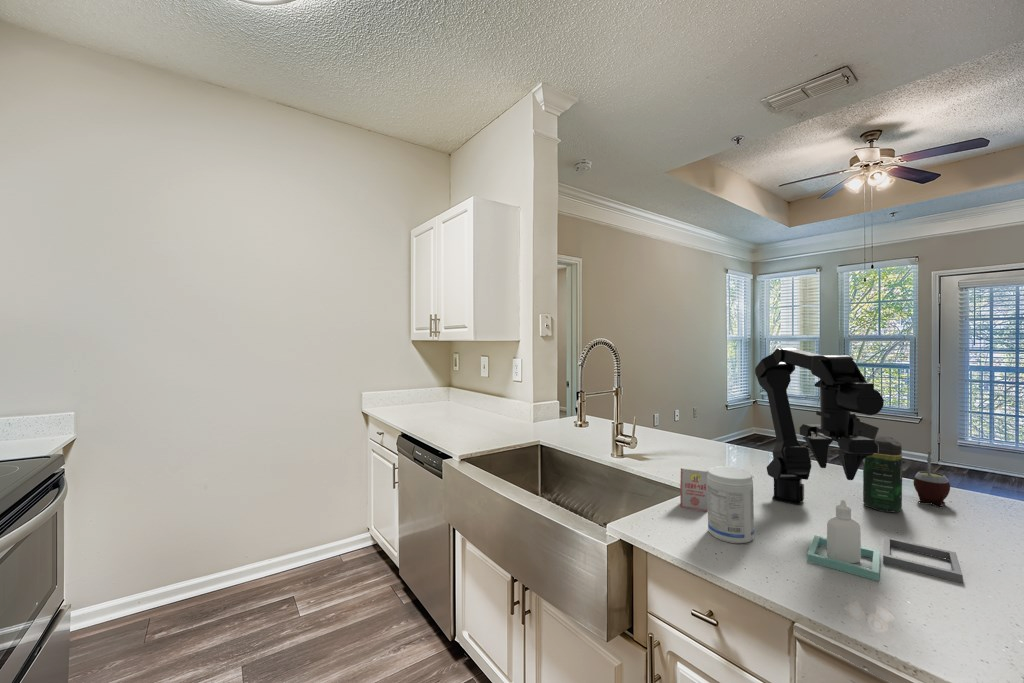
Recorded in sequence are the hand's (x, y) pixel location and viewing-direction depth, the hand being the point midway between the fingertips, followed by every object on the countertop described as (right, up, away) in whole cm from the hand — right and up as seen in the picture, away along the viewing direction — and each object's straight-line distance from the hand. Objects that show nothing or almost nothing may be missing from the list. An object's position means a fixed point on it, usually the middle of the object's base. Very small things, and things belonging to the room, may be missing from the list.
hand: (836, 473), depth 101 cm
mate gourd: (+37, -13, +14) cm, 42 cm away
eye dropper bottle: (-9, -13, -14) cm, 22 cm away
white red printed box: (-28, -14, +14) cm, 34 cm away
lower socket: (-9, -13, -14) cm, 22 cm away
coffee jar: (+22, -13, +13) cm, 28 cm away
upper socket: (+5, -13, -15) cm, 21 cm away
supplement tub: (-27, -14, -3) cm, 30 cm away
